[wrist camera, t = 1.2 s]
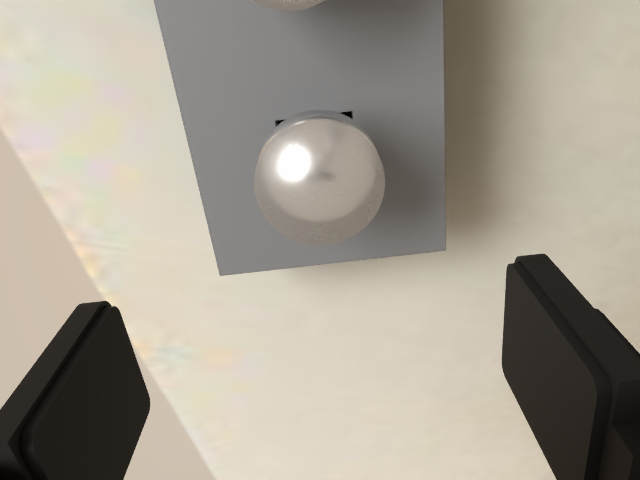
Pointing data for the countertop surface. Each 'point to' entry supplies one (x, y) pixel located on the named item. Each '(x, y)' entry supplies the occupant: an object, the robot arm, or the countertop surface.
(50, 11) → the countertop surface
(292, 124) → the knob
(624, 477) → the robot arm
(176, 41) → the control panel
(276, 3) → the middle knob
